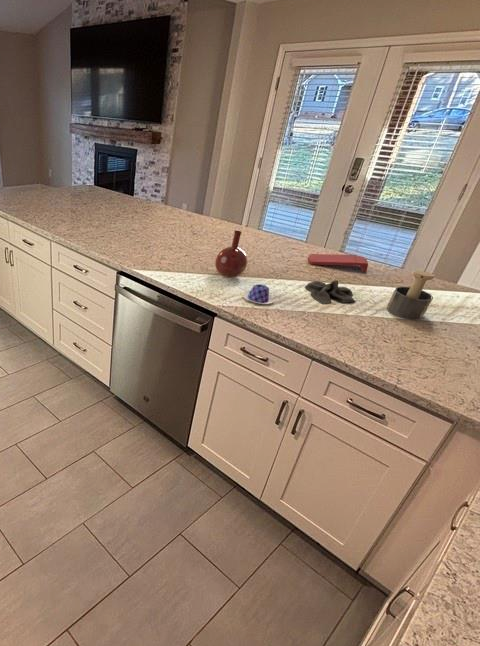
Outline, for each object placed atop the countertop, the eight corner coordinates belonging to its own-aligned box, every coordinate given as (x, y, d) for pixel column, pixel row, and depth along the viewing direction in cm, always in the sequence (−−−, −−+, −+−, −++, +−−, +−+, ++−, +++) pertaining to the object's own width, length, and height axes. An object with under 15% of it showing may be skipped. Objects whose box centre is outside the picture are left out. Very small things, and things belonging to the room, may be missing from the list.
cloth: (303, 281, 182) (308, 267, 178) (350, 288, 177) (355, 275, 173) (306, 301, 164) (311, 287, 161) (358, 310, 159) (364, 295, 156)
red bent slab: (307, 271, 202) (366, 273, 192) (308, 261, 199) (369, 262, 189) (307, 263, 211) (364, 264, 201) (308, 253, 209) (366, 254, 199)
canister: (427, 314, 159) (437, 295, 154) (416, 322, 152) (426, 303, 148) (393, 302, 166) (402, 284, 162) (381, 310, 160) (389, 291, 155)
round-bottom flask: (232, 269, 190) (242, 226, 179) (249, 281, 179) (261, 235, 168) (207, 272, 186) (215, 228, 175) (223, 284, 175) (233, 237, 165)
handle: (397, 305, 162) (414, 269, 154) (416, 310, 159) (435, 273, 150) (395, 309, 159) (412, 272, 151) (414, 314, 155) (433, 277, 147)
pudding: (245, 290, 171) (248, 278, 168) (275, 296, 167) (279, 284, 164) (240, 301, 162) (243, 288, 159) (271, 308, 158) (275, 295, 155)
